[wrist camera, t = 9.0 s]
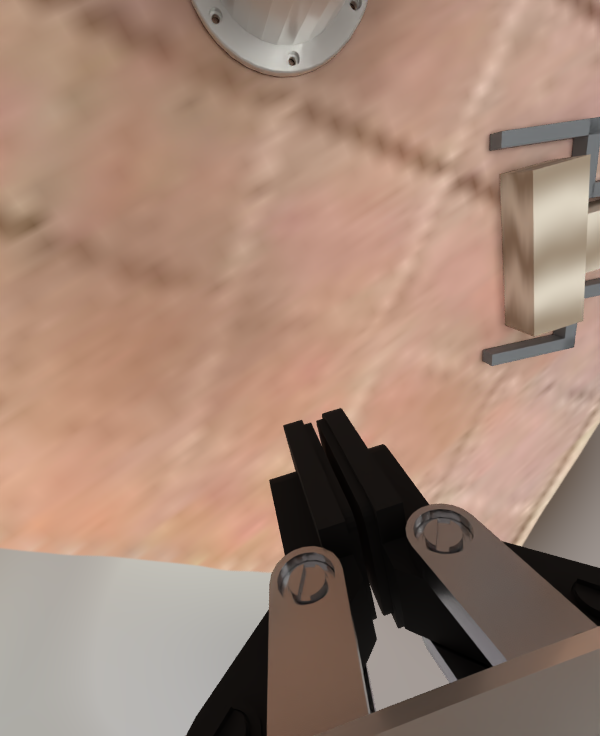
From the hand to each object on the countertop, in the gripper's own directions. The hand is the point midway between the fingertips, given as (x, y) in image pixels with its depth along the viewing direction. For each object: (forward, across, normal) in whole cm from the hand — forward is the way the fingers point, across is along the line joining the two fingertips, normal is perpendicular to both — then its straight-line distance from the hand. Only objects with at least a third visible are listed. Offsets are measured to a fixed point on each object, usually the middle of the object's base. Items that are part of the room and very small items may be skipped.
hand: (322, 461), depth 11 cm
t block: (+25, -31, +2) cm, 40 cm away
